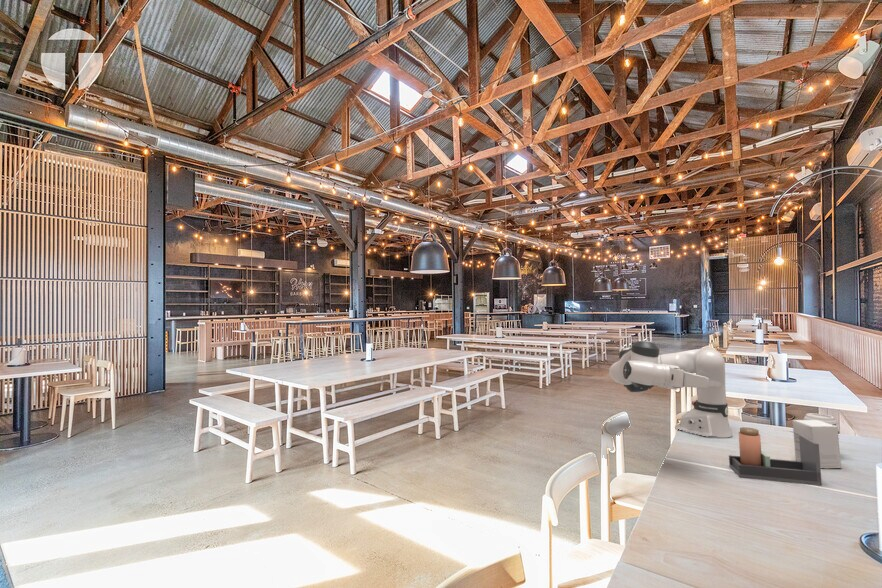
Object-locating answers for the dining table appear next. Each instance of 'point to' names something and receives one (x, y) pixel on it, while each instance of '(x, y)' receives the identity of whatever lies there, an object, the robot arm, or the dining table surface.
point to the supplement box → (819, 441)
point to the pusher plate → (765, 459)
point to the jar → (750, 447)
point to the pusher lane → (785, 466)
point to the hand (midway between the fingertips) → (714, 383)
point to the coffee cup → (821, 418)
